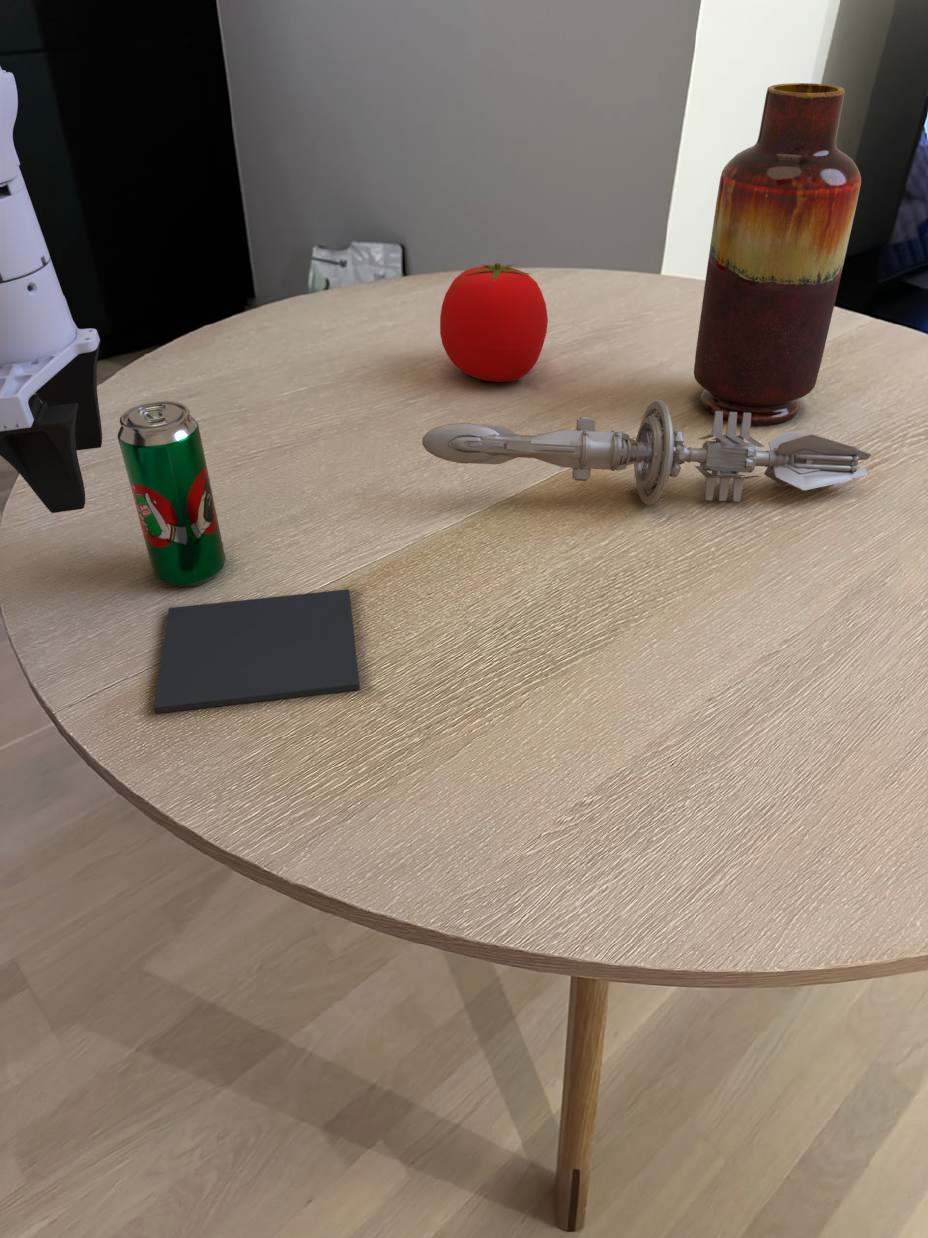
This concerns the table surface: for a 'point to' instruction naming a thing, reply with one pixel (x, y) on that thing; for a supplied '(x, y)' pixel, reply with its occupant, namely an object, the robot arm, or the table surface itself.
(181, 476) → the soda can
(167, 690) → the mat
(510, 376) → the tomato
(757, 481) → the table surface
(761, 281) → the vase
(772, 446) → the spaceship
